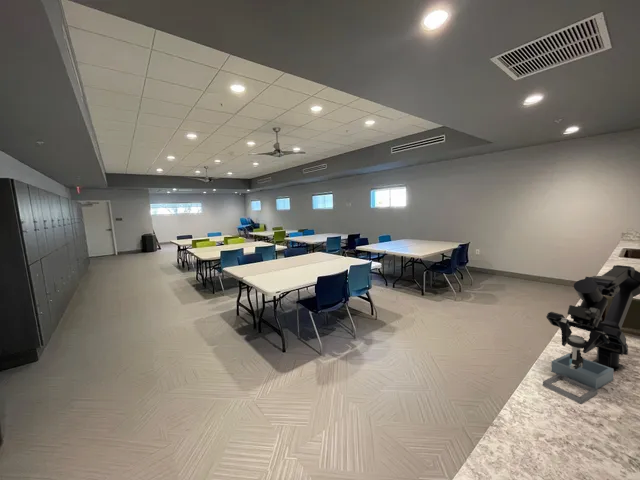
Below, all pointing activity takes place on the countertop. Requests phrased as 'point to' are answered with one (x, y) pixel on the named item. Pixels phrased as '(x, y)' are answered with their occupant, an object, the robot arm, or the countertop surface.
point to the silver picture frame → (578, 399)
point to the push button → (576, 350)
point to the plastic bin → (584, 371)
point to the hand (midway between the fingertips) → (573, 348)
